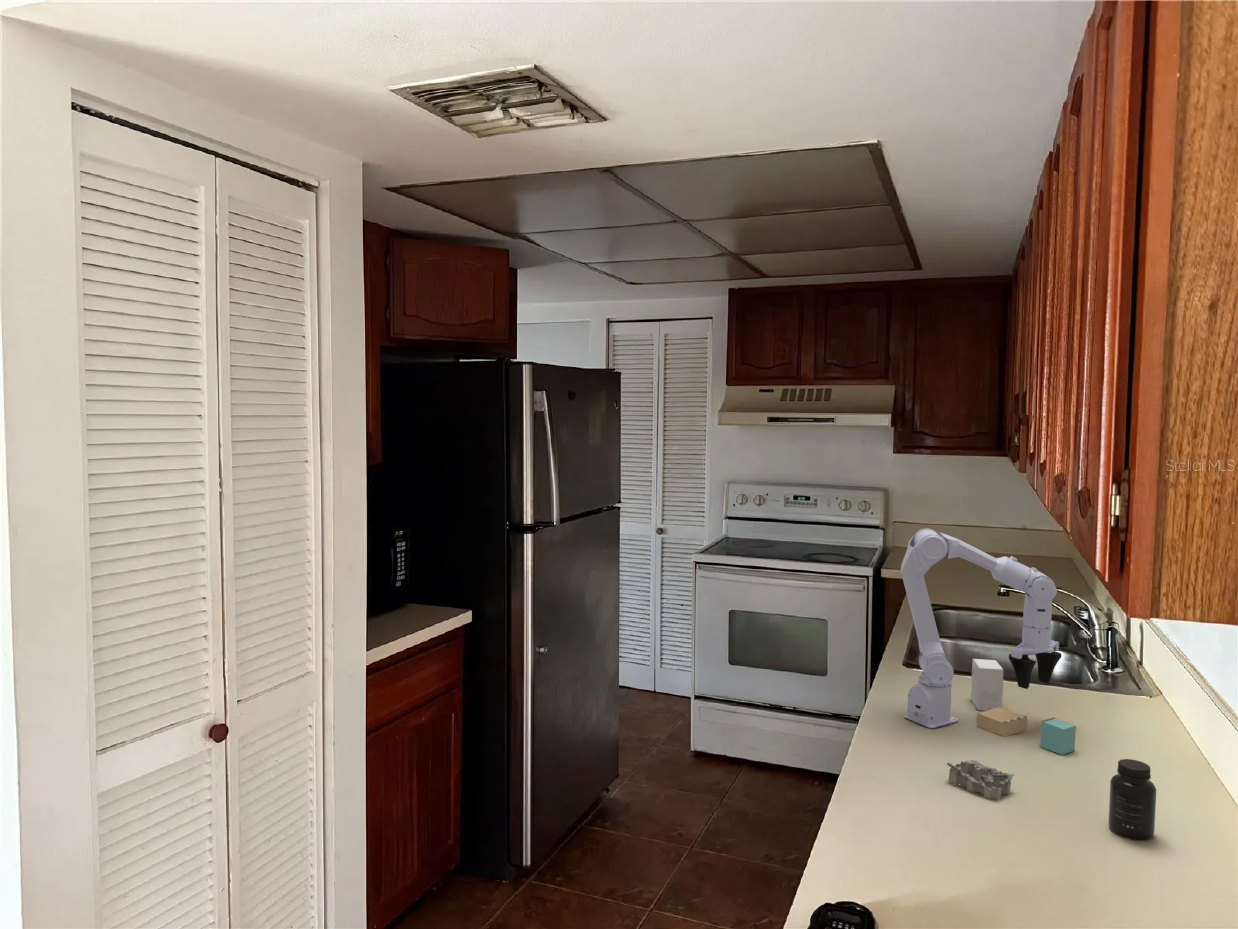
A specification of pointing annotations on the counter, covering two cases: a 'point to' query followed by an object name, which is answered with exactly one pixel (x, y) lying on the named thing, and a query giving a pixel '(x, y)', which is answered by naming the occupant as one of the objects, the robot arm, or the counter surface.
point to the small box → (987, 684)
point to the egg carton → (980, 778)
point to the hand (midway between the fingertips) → (1033, 685)
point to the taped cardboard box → (1002, 721)
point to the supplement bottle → (1132, 801)
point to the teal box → (1057, 736)
